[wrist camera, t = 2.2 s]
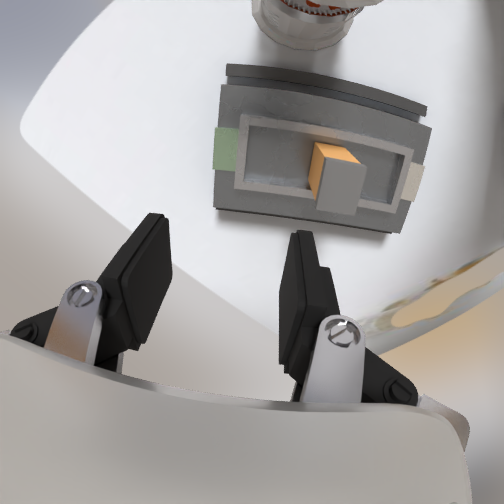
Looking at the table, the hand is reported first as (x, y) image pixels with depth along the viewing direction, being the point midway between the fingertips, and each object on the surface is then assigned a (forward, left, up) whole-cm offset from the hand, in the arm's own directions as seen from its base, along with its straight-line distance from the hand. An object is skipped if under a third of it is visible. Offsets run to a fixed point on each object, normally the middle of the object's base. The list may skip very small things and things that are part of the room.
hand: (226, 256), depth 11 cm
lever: (0, +7, -16) cm, 17 cm away
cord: (-8, +7, -19) cm, 22 cm away
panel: (0, +7, -19) cm, 20 cm away
